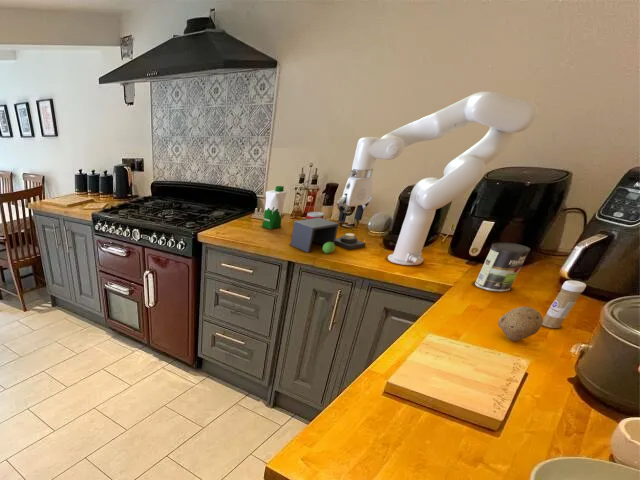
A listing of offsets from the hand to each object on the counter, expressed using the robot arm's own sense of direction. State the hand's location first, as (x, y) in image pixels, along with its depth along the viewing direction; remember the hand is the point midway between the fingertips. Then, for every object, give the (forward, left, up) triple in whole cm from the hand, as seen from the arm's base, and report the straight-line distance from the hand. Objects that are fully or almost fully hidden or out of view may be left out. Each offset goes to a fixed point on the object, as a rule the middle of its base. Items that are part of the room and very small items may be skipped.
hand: (349, 220), depth 170 cm
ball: (+8, +2, -13) cm, 16 cm away
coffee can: (-39, -37, -16) cm, 56 cm away
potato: (-75, -14, -16) cm, 78 cm away
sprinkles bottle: (-69, -31, -16) cm, 77 cm away
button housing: (+17, -12, -16) cm, 26 cm away
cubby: (+18, +5, -16) cm, 25 cm away
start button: (+17, -12, -13) cm, 24 cm away
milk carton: (+56, +11, -16) cm, 59 cm away
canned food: (+34, -2, -16) cm, 37 cm away
